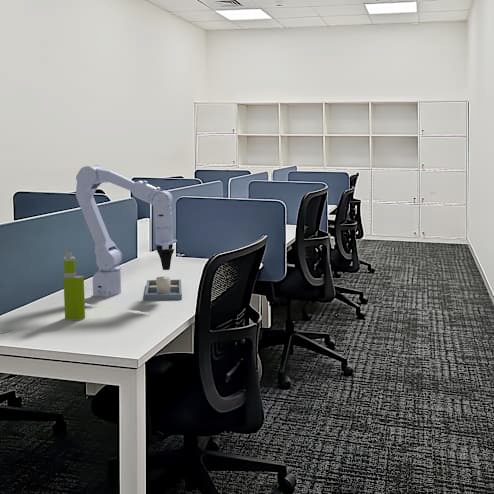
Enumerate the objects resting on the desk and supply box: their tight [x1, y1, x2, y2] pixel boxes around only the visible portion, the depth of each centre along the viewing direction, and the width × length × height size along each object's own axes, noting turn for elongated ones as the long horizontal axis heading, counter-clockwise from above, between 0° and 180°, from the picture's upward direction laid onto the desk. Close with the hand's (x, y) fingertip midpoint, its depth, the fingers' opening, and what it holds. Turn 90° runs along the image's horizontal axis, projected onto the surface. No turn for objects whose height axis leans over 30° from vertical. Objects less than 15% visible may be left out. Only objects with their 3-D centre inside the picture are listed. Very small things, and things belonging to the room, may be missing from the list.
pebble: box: [155, 276, 171, 294], centre depth 228 cm, size 5×5×6 cm
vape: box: [62, 250, 86, 321], centre depth 201 cm, size 4×6×20 cm, turn 81°
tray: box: [144, 279, 183, 301], centre depth 234 cm, size 24×12×2 cm, turn 6°
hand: (165, 267), depth 228 cm, fingers open, 7 cm apart
